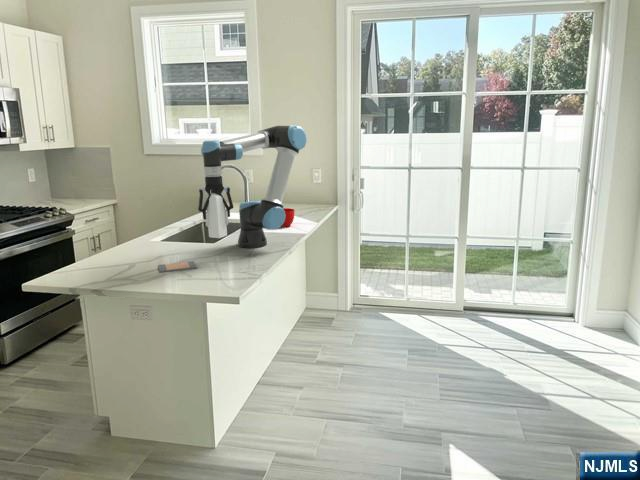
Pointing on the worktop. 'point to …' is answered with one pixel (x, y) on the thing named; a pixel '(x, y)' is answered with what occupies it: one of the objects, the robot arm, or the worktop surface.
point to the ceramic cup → (288, 217)
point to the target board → (177, 266)
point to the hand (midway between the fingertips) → (217, 225)
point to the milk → (216, 216)
